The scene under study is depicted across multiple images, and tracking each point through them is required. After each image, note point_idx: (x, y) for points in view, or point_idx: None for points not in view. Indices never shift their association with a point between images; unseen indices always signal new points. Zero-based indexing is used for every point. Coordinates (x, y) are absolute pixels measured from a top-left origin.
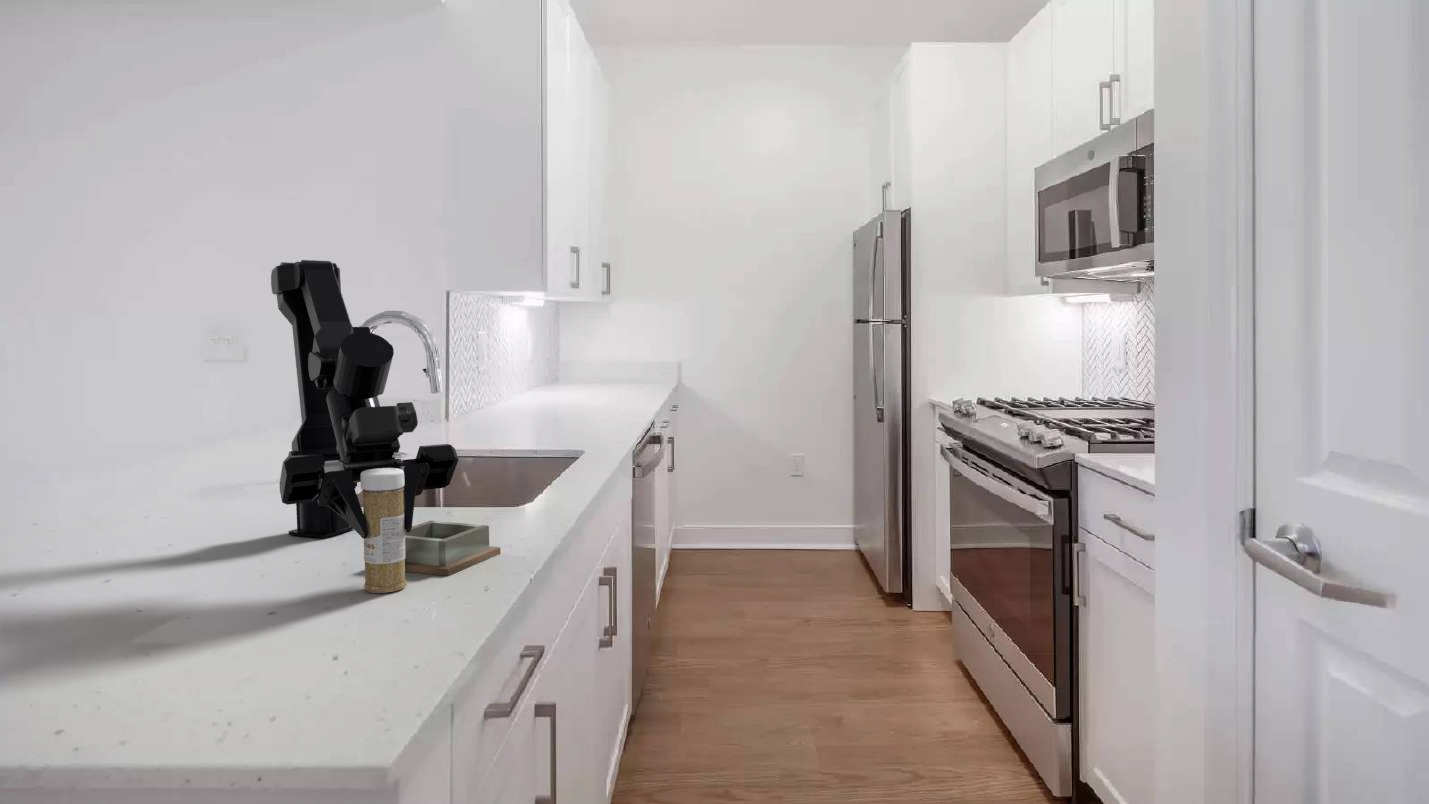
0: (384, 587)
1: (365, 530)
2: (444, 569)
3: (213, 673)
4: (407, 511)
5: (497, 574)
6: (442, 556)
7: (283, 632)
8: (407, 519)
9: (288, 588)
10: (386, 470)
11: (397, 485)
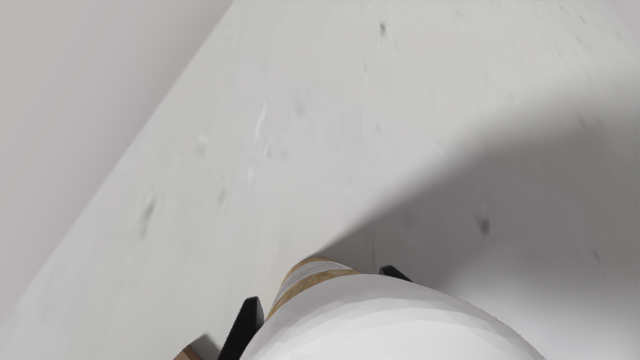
0: (322, 259)
1: (390, 269)
2: (188, 356)
3: (493, 39)
4: (243, 351)
5: (88, 315)
6: None
7: (451, 132)
8: (253, 317)
9: None
10: None
11: (278, 311)
